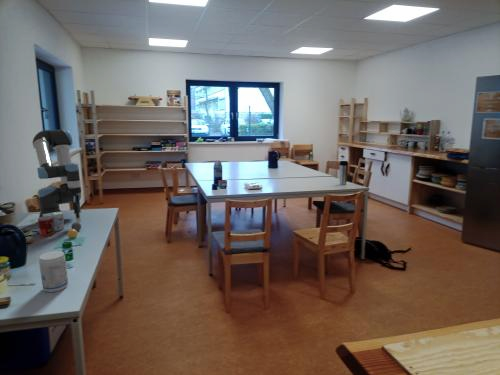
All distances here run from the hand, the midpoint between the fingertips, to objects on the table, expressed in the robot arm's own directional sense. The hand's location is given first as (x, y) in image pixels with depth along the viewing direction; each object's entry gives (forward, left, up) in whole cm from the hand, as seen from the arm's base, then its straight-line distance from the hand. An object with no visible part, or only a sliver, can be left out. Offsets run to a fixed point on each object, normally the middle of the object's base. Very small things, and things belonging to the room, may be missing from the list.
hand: (78, 222), depth 233 cm
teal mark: (+31, 0, -3) cm, 31 cm away
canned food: (+11, -16, -3) cm, 20 cm away
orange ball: (+23, 0, 0) cm, 23 cm away
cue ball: (+9, 0, 0) cm, 9 cm away
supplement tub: (+89, +4, -3) cm, 89 cm away
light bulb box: (+2, -14, -3) cm, 15 cm away
